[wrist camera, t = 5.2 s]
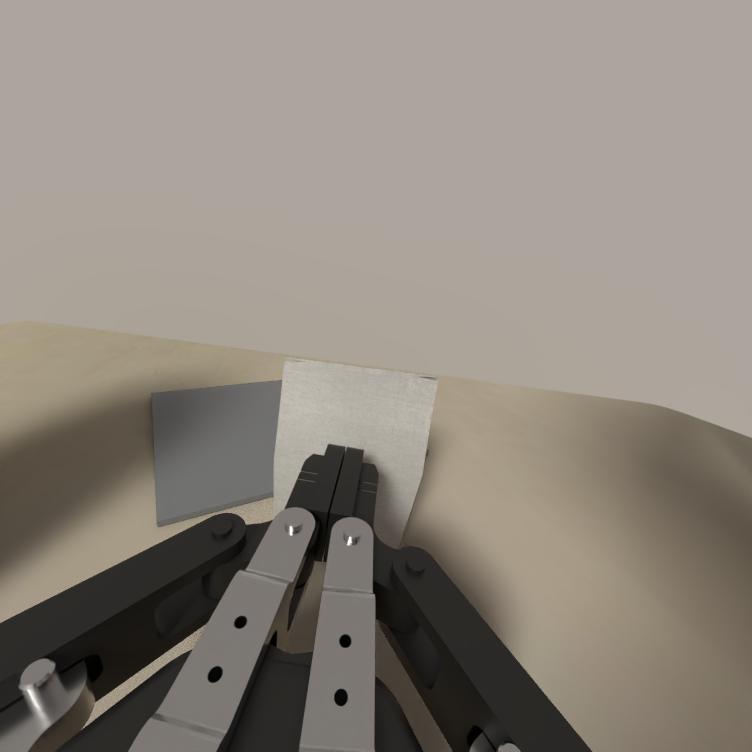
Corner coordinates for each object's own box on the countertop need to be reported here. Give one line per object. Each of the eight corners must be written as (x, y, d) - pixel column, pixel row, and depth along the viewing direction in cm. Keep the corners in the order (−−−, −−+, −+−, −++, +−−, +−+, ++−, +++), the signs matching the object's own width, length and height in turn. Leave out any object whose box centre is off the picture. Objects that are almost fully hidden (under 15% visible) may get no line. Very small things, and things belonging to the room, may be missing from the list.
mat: (348, 376, 38) (349, 373, 38) (427, 455, 28) (428, 450, 27) (152, 397, 29) (151, 393, 29) (157, 527, 18) (156, 521, 18)
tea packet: (398, 549, 19) (445, 404, 14) (273, 538, 19) (274, 383, 13) (394, 494, 22) (432, 359, 17) (287, 484, 22) (292, 340, 17)
